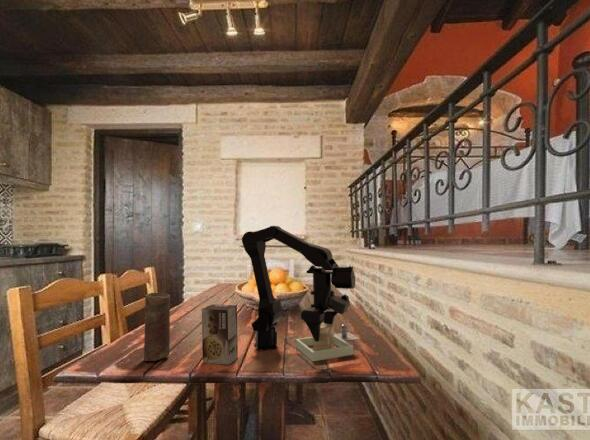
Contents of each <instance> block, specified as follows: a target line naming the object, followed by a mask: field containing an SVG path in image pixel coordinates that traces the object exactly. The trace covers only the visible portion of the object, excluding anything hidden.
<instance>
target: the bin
mask: <svg viewBox="0 0 590 440" xmlns="http://www.w3.org/2000/svg"><path fill="white" fill-rule="evenodd" d="M310 346H312V347H313V336H309V337H301V338H295V351H296V352H297V353H298V354H300V355H301V356H302V357H303V358H304V359H305V360H307V361H308V362H309V364H311V365H312V366H314V365H315V362H317V361H318V362H319V361H322V360H323V361H324V360H330V359H335V358H336V359H337V358H342V357H347V356H353V355H354V345H352V344H351V343H349V342H347V341H344V340H342V339H340V338H338V337H337V336H335V335H334V346H336V347H334V348H331V349H325V350H318V351H313V348H310Z"/></svg>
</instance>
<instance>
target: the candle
mask: <svg viewBox="0 0 590 440" xmlns="http://www.w3.org/2000/svg"><path fill="white" fill-rule="evenodd" d="M144 299H145V302H144V303H145V305H144V307H145V309H144V341H143V342H144V344H143V348H144V349H143V360H144V361H145V362H147V361H148V362H155V361H160V360H161V361H162V360H163V359H167V358H168V357H169V356H170V351H171V350H170V349H171V348H170V347H171V346H170V345H171V344H170V343H171V342H170V341H171V340H170V339H171V337H170V336H171V334H170V328H171V327H170V325H171V324H170V322H171V321H170V320H171V319H170V318H171V316H170V315H171V305H170V304H171V295H170V294H168V293H164V292H149V293H146V294H145V298H144Z"/></svg>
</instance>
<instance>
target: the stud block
mask: <svg viewBox="0 0 590 440" xmlns="http://www.w3.org/2000/svg"><path fill="white" fill-rule="evenodd" d="M339 328H340V332H339V333H334V335H335V336H337V337H338V338H340V339H342V340H344V341H345V342H347V341H351V340H357V339H358V340H359V339H360V337H358V336H356V335H354V334H352V333H350V332H349V331H348V330H349V329H348V325H347V324H343V323H342V324H341V325H340V327H339ZM347 331H348V332H347Z"/></svg>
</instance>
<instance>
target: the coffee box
mask: <svg viewBox="0 0 590 440" xmlns="http://www.w3.org/2000/svg"><path fill="white" fill-rule="evenodd" d="M201 337H202V338H201V342H202V343H201V345H202V347H201V348H202V351H201V352H202V354H201V355H202V363H206V364H220V365H230V364H232V363H233V362H234V361H235V360H237V359H238V358H239V356H238V355H239V354H238V349H239V347H238V305H237V304H236V305H235V304H210V305H208V306H205V307H203V308H201Z"/></svg>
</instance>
